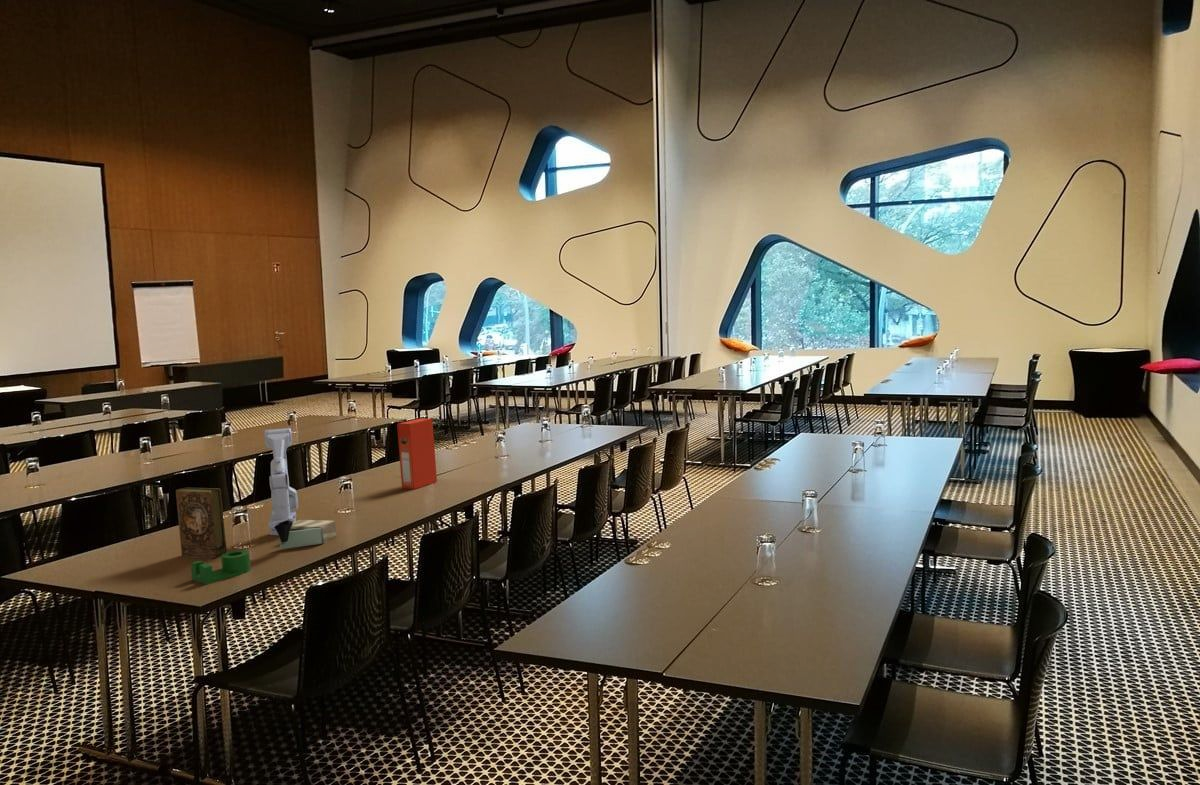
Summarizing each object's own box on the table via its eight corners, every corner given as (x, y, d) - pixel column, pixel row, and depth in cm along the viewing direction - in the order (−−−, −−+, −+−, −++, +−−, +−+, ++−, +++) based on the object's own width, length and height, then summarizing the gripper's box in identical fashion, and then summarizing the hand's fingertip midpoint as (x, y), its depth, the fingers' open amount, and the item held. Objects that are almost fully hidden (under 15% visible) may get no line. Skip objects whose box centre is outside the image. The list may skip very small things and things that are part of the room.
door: (280, 549, 330) (278, 534, 329) (280, 548, 332) (278, 532, 331) (323, 543, 335) (322, 528, 335) (323, 542, 337) (322, 527, 337)
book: (179, 557, 328) (172, 490, 325) (190, 552, 333) (183, 487, 330) (216, 558, 323) (210, 491, 320) (227, 554, 328) (220, 488, 325)
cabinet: (287, 542, 342) (285, 525, 341) (300, 535, 350) (299, 519, 349) (323, 543, 337) (322, 526, 337) (336, 537, 346) (335, 520, 345)
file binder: (401, 488, 430) (397, 423, 426) (424, 481, 445) (420, 418, 442) (414, 489, 426) (410, 424, 423) (436, 482, 442) (432, 418, 438)
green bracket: (242, 566, 313) (240, 548, 312) (255, 570, 308) (254, 552, 307) (192, 580, 299) (190, 562, 299) (205, 585, 294) (204, 566, 293)
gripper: (279, 510, 319) (282, 547, 320) (302, 501, 333) (305, 536, 334) (262, 510, 320) (265, 546, 322) (285, 500, 334) (288, 535, 336)
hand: (284, 541), depth 328 cm, fingers closed
